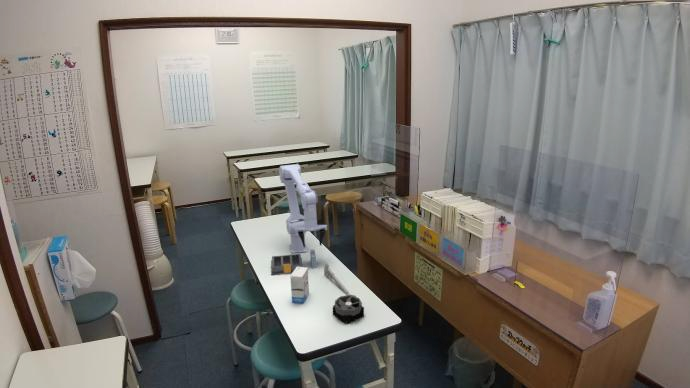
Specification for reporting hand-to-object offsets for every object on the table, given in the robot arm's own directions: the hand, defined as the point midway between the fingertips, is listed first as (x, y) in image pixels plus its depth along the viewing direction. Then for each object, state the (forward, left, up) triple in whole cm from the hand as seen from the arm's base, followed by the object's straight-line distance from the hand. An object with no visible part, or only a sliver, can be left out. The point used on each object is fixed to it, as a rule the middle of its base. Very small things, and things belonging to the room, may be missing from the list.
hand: (312, 245), depth 185 cm
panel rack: (0, -12, -10) cm, 16 cm away
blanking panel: (0, 0, -10) cm, 10 cm away
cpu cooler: (+43, +9, -10) cm, 45 cm away
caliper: (+21, +8, -10) cm, 25 cm away
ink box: (+28, -8, -10) cm, 30 cm away
